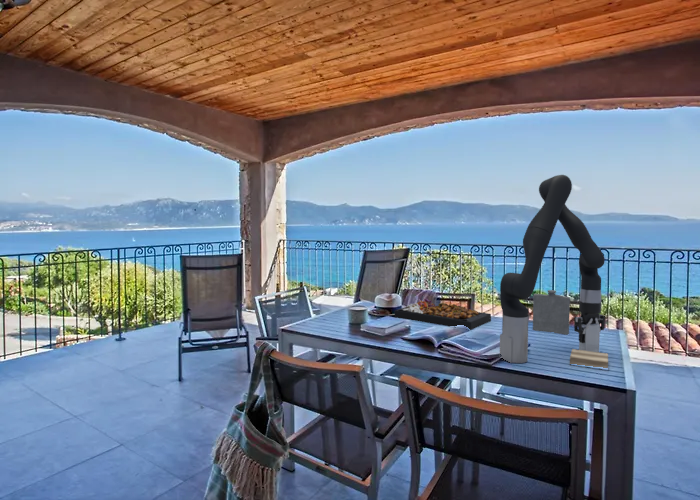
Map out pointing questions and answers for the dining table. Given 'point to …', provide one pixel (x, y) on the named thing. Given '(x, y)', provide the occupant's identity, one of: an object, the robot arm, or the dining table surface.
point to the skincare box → (591, 338)
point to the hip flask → (551, 313)
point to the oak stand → (589, 358)
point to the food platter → (443, 314)
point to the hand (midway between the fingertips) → (588, 341)
